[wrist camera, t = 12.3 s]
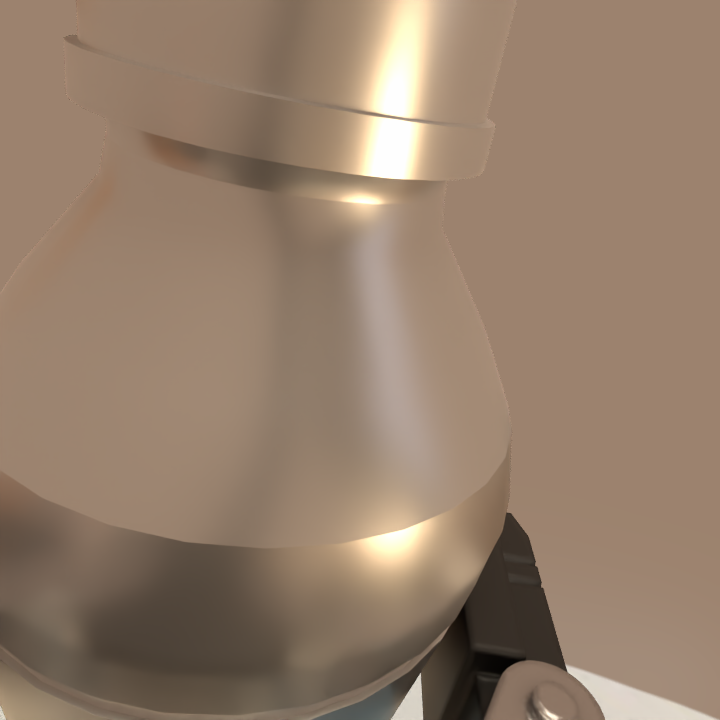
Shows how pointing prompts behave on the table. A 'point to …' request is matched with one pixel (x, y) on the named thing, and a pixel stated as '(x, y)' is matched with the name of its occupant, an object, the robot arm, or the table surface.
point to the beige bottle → (252, 368)
